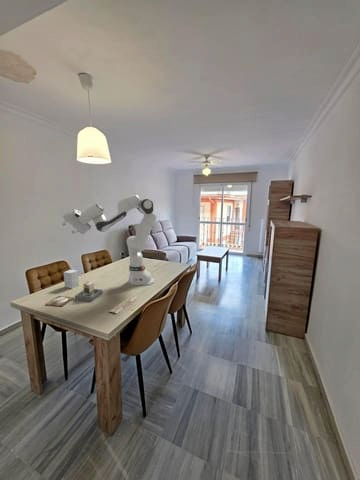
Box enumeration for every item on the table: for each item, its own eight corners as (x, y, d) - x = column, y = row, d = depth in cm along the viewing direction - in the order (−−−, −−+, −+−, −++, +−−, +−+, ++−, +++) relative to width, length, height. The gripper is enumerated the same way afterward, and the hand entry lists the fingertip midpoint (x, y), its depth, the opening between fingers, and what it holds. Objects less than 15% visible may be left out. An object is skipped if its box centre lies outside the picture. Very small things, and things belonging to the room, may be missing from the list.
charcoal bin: (102, 293, 150) (102, 289, 149) (92, 301, 137) (92, 297, 137) (86, 291, 152) (86, 288, 151) (75, 299, 139) (74, 295, 139)
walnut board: (74, 298, 141) (74, 297, 141) (62, 306, 129) (62, 305, 129) (59, 296, 142) (58, 295, 142) (45, 304, 131) (45, 303, 131)
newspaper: (130, 297, 146) (130, 295, 145) (138, 299, 143) (138, 296, 143) (108, 313, 124) (108, 310, 124) (118, 315, 121) (118, 313, 121)
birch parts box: (94, 295, 147) (93, 282, 145) (90, 298, 142) (89, 284, 140) (88, 294, 147) (87, 281, 146) (83, 297, 142) (82, 284, 141)
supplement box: (79, 285, 164) (78, 270, 162) (72, 288, 157) (71, 273, 155) (71, 284, 166) (70, 269, 164) (64, 287, 159) (63, 272, 157)
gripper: (92, 225, 162) (77, 235, 162) (72, 207, 148) (57, 217, 147) (92, 229, 158) (78, 239, 157) (73, 211, 143) (56, 221, 143)
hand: (67, 228), depth 152 cm, fingers open, 8 cm apart
